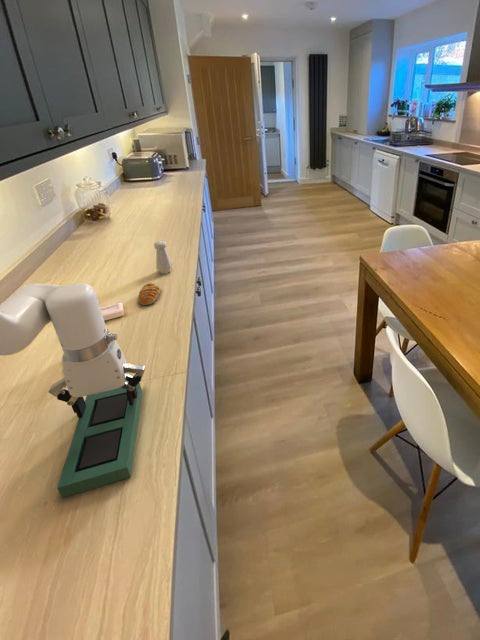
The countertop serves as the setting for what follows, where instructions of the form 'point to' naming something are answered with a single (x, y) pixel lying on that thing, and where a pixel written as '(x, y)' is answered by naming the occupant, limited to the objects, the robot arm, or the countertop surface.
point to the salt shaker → (162, 258)
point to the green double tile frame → (108, 472)
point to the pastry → (149, 293)
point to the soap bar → (112, 311)
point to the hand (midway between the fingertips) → (108, 406)
